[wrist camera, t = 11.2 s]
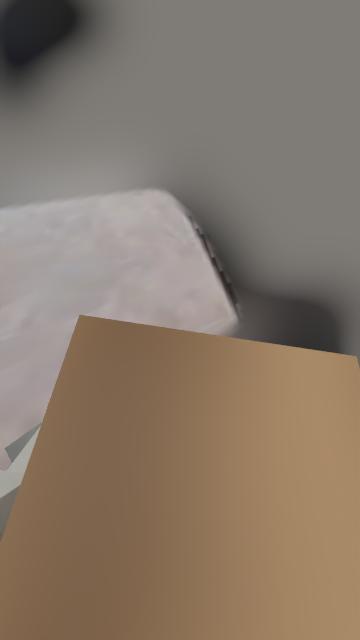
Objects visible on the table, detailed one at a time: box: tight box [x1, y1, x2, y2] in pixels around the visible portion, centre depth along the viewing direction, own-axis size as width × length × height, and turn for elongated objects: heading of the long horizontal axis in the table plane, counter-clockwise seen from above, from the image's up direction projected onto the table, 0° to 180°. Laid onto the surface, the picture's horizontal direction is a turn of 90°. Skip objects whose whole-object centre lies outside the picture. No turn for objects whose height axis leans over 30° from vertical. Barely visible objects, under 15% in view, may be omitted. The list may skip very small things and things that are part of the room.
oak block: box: [0, 315, 360, 640], centre depth 7 cm, size 5×5×10 cm
